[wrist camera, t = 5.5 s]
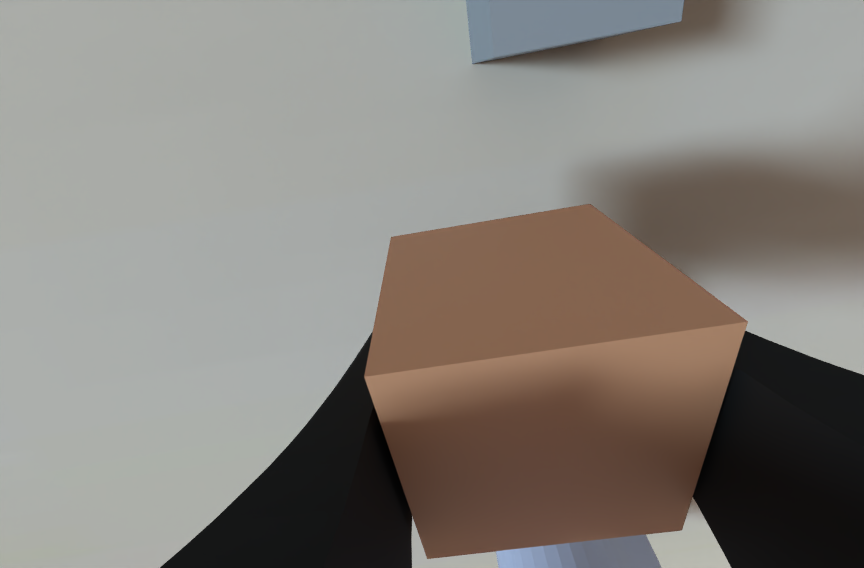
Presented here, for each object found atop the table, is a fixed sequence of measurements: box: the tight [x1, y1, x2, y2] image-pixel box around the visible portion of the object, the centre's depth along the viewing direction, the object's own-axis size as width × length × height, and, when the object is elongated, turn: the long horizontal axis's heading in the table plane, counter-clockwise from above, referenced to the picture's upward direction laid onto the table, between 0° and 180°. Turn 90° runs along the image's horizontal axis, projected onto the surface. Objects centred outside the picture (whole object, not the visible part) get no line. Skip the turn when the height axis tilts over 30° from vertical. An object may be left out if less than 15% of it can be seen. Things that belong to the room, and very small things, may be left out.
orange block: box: [364, 204, 748, 559], centre depth 8 cm, size 5×5×5 cm
